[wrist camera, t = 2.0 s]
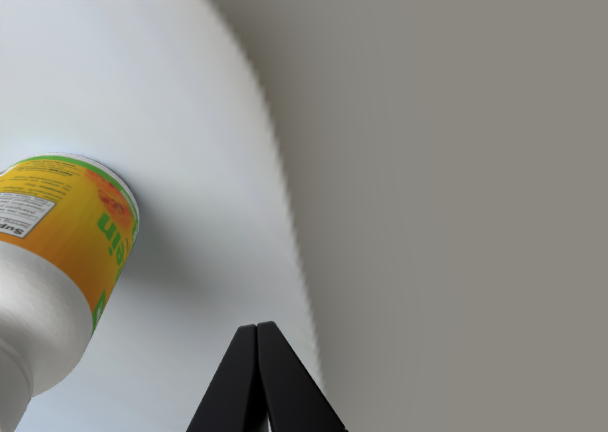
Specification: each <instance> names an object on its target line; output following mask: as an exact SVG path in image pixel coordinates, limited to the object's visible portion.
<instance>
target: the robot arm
mask: <svg viewBox="0 0 608 432" xmlns="http://www.w3.org/2000/svg"><path fill="white" fill-rule="evenodd" d="M268 417H269V422H270V427H271V431H272V432H348V430H345V426H344V424H343V423H342V422H341V420H340V419H339V417H338V416H337V414H336V413H335V411H334V410H333V408H332V407H331V405H330V404H329V402H328V401H327V399H326V398H325V396H324V395H323V393H322V392H321V390H320V389H319V387H318V386H317V384H316V383H315V381H314V380H313V378H312V377H311V376H310V374H309V373H308V371H307V370H306V368H305V367H304V365H303V364H302V362H301V361H300V359H299V358H298V356H297V355H296V353H295V352H294V350H293V349H292V347H291V346H290V344H289V343H288V341H287V340H286V338H285V337H284V335H283V334H282V333H281V331H280V330H279V328H278V327H277V325H276V324H275V322H273V321H268V322H262V323H258V324H257V326H256V325H255V324H251V325H245V326H240V327H239V328H238V329H237V331H236V333H235V335H234V337H233V339H232V341H231V343H230V345H229V347H228V349H227V351H226V353H225V355H224V357H223V359H222V361H221V363H220V365H219V367H218V369H217V371H216V373H215V375H214V377H213V379H212V381H211V383H210V385H209V387H208V389H207V391H206V393H205V395H204V397H203V399H202V401H201V403H200V405H199V407H198V409H197V411H196V413H195V415H194V417H193V419H192V421H191V423H190V425H189V427H188V429H187V431H186V432H268Z"/></svg>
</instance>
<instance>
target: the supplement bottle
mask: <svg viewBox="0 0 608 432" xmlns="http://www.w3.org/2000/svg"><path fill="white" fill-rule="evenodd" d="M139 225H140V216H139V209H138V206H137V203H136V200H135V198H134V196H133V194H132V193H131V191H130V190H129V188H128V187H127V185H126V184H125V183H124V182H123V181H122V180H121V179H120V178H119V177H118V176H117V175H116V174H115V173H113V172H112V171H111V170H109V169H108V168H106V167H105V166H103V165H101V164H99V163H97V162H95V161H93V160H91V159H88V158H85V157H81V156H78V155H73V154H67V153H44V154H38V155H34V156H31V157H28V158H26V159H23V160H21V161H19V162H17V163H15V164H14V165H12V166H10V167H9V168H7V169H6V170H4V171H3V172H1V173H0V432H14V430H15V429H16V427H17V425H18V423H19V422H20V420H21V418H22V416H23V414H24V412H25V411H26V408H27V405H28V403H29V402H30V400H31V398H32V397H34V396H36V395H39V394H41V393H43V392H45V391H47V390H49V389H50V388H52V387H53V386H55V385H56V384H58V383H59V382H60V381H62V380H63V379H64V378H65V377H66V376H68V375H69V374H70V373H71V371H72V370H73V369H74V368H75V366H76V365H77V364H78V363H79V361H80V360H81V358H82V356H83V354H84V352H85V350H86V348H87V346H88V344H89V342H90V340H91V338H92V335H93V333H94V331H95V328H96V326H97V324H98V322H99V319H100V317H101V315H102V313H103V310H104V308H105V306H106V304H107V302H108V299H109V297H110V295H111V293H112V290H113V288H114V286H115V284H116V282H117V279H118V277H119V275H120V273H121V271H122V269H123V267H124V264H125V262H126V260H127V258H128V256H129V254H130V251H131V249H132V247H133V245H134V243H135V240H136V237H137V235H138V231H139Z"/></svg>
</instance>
